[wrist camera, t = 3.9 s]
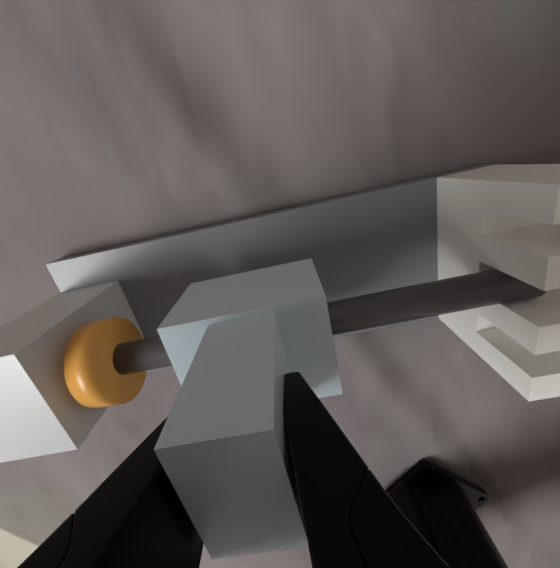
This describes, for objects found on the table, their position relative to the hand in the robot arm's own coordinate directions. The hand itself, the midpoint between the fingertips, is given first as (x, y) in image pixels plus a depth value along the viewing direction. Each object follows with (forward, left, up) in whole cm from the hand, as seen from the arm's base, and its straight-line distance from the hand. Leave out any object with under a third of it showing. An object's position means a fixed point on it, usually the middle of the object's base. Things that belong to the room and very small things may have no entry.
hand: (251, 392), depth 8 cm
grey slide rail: (0, 0, -8) cm, 8 cm away
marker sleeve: (0, 0, -5) cm, 5 cm away
